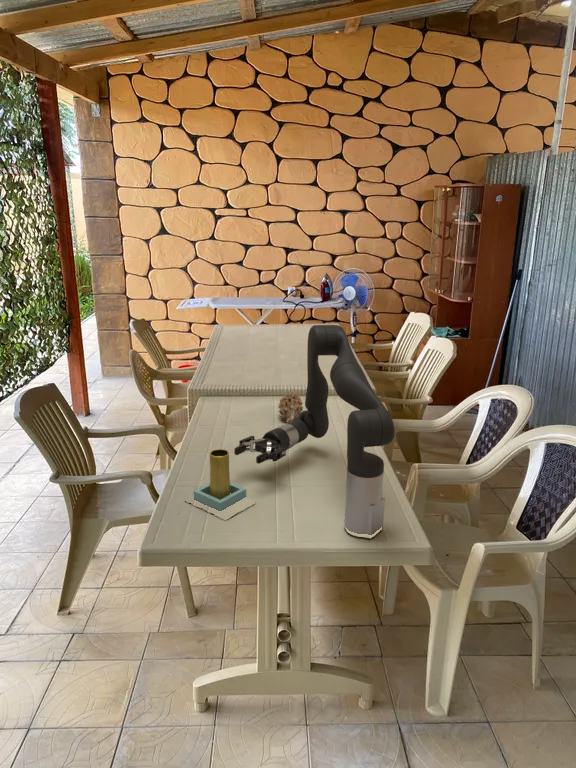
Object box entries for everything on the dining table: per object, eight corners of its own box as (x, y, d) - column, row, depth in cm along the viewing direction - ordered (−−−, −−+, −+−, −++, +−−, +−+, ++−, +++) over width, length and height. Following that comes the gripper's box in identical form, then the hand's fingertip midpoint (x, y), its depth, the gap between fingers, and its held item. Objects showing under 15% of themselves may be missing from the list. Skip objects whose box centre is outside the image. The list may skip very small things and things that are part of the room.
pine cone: (277, 412, 241) (277, 388, 238) (301, 412, 241) (302, 388, 238) (279, 434, 220) (279, 408, 217) (306, 434, 220) (306, 408, 217)
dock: (255, 503, 173) (255, 491, 171) (225, 520, 164) (225, 507, 162) (215, 486, 182) (215, 474, 181) (185, 501, 173) (184, 488, 172)
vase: (204, 498, 173) (203, 452, 168) (222, 491, 177) (221, 446, 172) (218, 506, 169) (217, 459, 164) (235, 499, 173) (235, 453, 168)
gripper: (263, 422, 193) (228, 437, 181) (299, 433, 184) (264, 451, 172) (263, 444, 195) (228, 460, 183) (299, 456, 187) (264, 475, 175)
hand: (246, 456), depth 178 cm, fingers open, 8 cm apart
